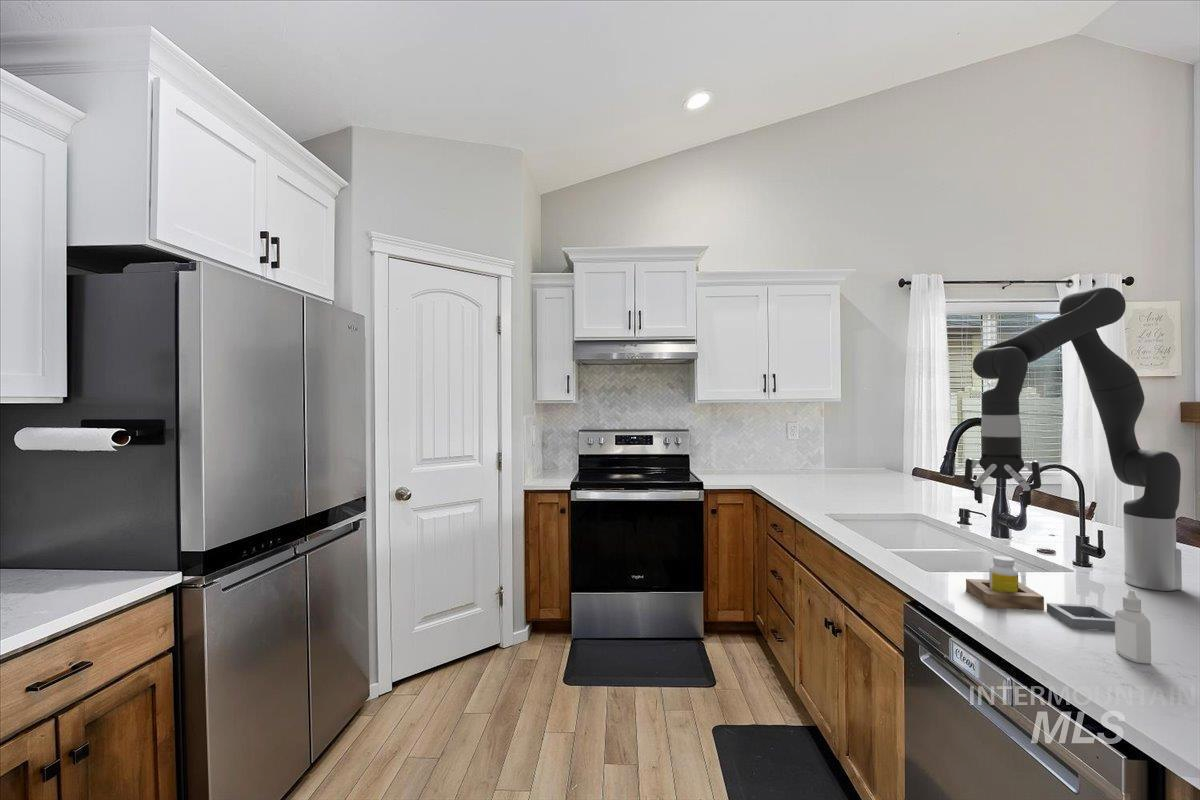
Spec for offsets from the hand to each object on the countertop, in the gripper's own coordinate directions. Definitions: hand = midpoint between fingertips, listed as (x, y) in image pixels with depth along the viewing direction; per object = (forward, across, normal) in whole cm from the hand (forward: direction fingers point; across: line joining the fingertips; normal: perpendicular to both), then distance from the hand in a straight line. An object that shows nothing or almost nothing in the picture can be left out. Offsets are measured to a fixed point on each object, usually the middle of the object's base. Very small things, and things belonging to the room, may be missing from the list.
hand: (1002, 504), depth 130 cm
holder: (+22, -14, +5) cm, 26 cm away
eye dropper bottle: (+22, -21, +20) cm, 37 cm away
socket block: (+22, 0, 0) cm, 22 cm away
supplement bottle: (+22, 0, 0) cm, 22 cm away
